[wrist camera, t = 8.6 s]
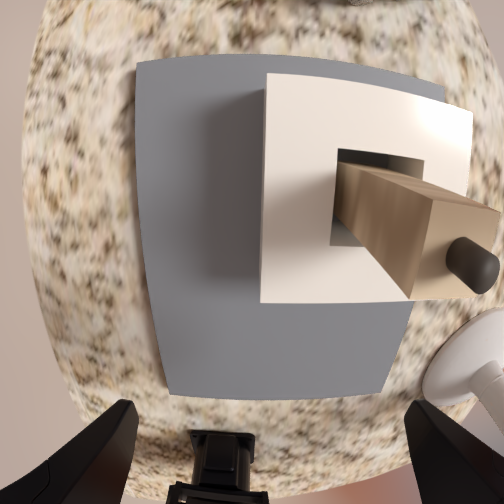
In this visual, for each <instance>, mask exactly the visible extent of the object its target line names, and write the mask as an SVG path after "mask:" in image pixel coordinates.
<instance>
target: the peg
mask: <svg viewBox="0 0 504 504" xmlns="http://www.w3.org/2000/svg"><path fill="white" fill-rule="evenodd" d="M333 213H334V214H335V215H336V216H337V218H338V219H339V220H340V221H341V222H342V223H343V224H344V225H345V226H346V227H347V228H348V229H349V230H350V232H351V233H352V234H353V235H354V236H355V237H356V238H357V239H358V240H359V241H360V243H361V244H362V245H363V246H364V247H365V248H366V249H367V250H368V252H369V253H370V254H371V255H372V256H373V257H374V258H375V260H376V261H377V262H378V263H379V264H380V265H381V266H382V268H383V269H384V270H385V271H386V272H387V274H388V275H389V276H390V277H391V278H392V280H393V281H394V282H395V283H396V284H397V286H398V287H399V288H400V289H401V290H402V292H403V293H404V294H405V295H406V297H407V298H408V299H409V300H426V299H455V298H476V297H477V294H483V293H485V292H487V291H488V290H489V289H490V288H491V287H492V286H493V285H494V283H495V281H496V280H497V277H498V274H499V270H500V263H499V259H498V258H497V257H496V256H495V255H493V254H492V253H491V250H492V247H493V243H494V239H495V235H496V231H497V227H498V222H499V218H500V213H501V212H498V211H496V210H494V209H492V208H490V207H488V206H485V205H483V204H481V203H478V202H476V201H474V200H471V199H469V198H467V197H464V196H462V195H459V194H457V193H454V192H452V191H449V190H447V189H444V188H442V187H439V186H436V185H434V184H431V183H428V182H425V181H423V180H420V179H417V178H414V177H411V176H408V175H405V174H402V173H399V172H396V171H393V170H390V169H386V168H383V167H380V166H377V165H372V164H365V163H358V162H350V161H342V160H337V169H336V182H335V195H334V206H333Z"/></svg>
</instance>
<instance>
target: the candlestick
mask: <svg viewBox="0 0 504 504" xmlns="http://www.w3.org/2000/svg"><path fill="white" fill-rule="evenodd" d="M503 368H504V308H499V307H498V308H493V309H489V310H487V311H485V312H483V313H481V314H479V315H477V316H476V317H474V318H472V319H471V320H470V321H468V322H467V323H466V324H465V325H463V326H462V327H461V328H460V329H459V330H458V331H456V332H455V333H454V334H453V335H452V336H451V337H450V339H449V340H448V341H447V342H446V343H445V344H444V345H443V346H442V348H441V349H440V350H439V351H438V353H437V354H436V356H435V357H434V358H433V360H432V362H431V363H430V365H429V367H428V369H427V371H426V373H425V376H424V379H423V383H422V392H423V395H424V397H425V399H426V400H427V401H429V402H430V403H431V404H432V405H435V406H451V405H455V404H459V403H461V402H464V401H466V400H468V399H470V398H472V397H473V396H475V395H476V396H477V397H478V398H479V401H480V402H481V403H482V404H483V405H484V407H485V408H486V410H487V411H488V413H489V414H490V416H491V417H492V418H493V420H494V421H495V423H496V424H497V426H498V427H499V429H500V430H501V432H502V433H503V435H504V373H503V371H502V369H503Z"/></svg>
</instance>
